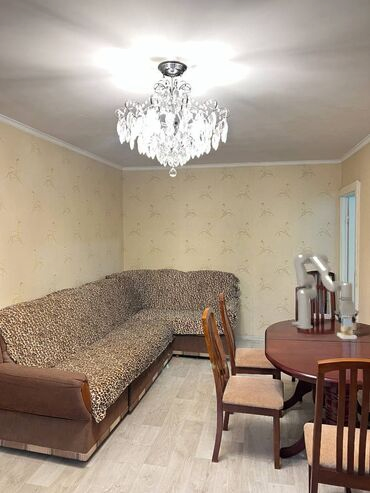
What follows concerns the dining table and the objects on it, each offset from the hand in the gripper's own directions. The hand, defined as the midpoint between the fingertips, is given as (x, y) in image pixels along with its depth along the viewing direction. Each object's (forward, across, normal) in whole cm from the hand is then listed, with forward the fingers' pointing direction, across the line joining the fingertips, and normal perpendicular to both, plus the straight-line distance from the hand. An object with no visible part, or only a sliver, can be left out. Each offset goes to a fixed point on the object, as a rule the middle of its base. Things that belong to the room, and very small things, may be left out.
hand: (346, 322), depth 265 cm
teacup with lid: (+11, +11, +23) cm, 28 cm away
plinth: (+10, 0, 0) cm, 10 cm away
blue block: (+2, 0, 0) cm, 2 cm away
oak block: (+8, 0, 0) cm, 8 cm away
